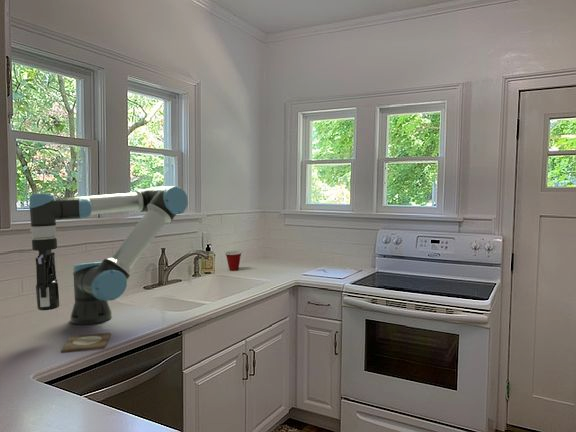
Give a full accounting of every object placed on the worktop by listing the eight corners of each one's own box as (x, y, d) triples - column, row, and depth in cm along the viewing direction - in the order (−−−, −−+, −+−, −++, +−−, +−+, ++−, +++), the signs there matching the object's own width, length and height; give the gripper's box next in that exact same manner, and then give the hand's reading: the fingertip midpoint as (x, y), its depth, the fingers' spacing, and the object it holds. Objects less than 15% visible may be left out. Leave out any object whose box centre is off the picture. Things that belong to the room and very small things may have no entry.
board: (71, 338, 154) (71, 335, 154) (110, 334, 157) (110, 332, 157) (61, 352, 140) (60, 349, 140) (104, 348, 143) (104, 345, 143)
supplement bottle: (63, 305, 156) (61, 271, 155) (53, 310, 149) (51, 275, 148) (43, 305, 156) (41, 272, 155) (33, 311, 149) (30, 276, 148)
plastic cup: (222, 271, 280) (221, 252, 279) (229, 268, 290) (229, 250, 290) (237, 272, 277) (237, 253, 276) (244, 269, 287) (244, 251, 286)
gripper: (40, 235, 159) (44, 297, 161) (22, 242, 140) (26, 312, 142) (63, 234, 161) (67, 296, 163) (48, 240, 142) (52, 310, 144)
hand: (48, 303), depth 152 cm, fingers closed on supplement bottle, 7 cm apart
